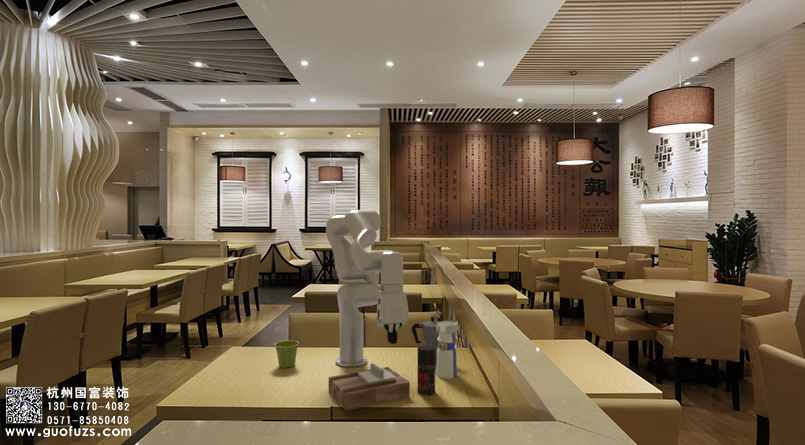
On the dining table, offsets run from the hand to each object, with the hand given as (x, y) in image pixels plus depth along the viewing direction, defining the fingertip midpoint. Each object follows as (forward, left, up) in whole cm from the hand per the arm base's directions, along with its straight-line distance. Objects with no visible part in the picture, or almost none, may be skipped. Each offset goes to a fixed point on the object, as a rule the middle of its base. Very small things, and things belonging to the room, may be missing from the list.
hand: (392, 342), depth 149 cm
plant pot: (-42, -26, -16) cm, 51 cm away
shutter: (-1, -6, -11) cm, 12 cm away
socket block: (-1, -9, -16) cm, 18 cm away
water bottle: (-4, +24, -16) cm, 30 cm away
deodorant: (+6, +9, -16) cm, 20 cm away
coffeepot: (-21, +27, -16) cm, 38 cm away
